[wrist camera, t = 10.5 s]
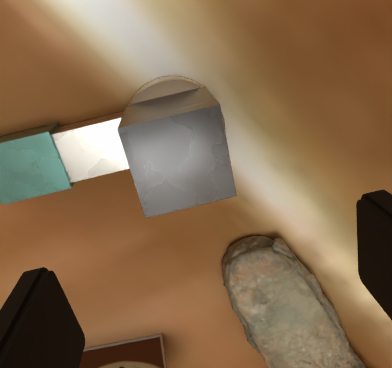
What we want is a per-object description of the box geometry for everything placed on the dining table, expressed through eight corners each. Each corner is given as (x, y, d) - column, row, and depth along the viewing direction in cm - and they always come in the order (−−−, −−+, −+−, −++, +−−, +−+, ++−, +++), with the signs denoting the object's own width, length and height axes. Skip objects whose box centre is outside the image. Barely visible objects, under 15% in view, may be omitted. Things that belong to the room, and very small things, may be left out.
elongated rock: (286, 201, 31) (192, 248, 33) (305, 231, 26) (193, 285, 28) (398, 416, 44) (325, 442, 45) (425, 463, 39) (341, 491, 40)
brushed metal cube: (204, 86, 22) (219, 104, 17) (219, 159, 25) (236, 196, 19) (126, 104, 22) (116, 128, 17) (148, 176, 24) (145, 218, 19)
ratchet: (209, 65, 24) (227, 77, 18) (226, 156, 27) (247, 194, 21) (-19, 119, 24) (-82, 151, 18) (23, 205, 27) (-18, 258, 21)
